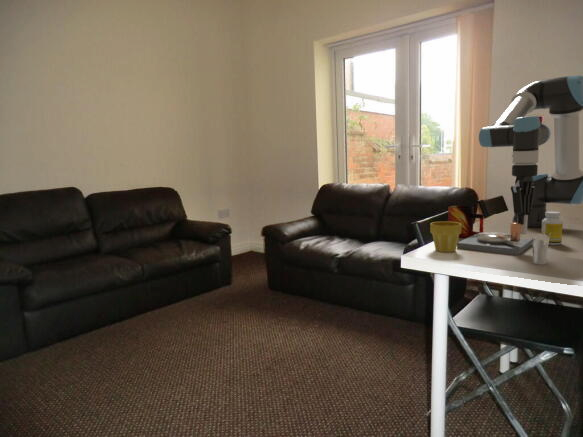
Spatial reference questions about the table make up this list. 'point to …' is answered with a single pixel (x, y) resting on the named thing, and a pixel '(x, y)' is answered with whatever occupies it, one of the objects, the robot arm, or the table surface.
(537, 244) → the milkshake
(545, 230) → the pill bottle
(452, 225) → the plant pot
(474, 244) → the base plate
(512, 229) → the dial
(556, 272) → the table surface
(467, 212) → the mug
